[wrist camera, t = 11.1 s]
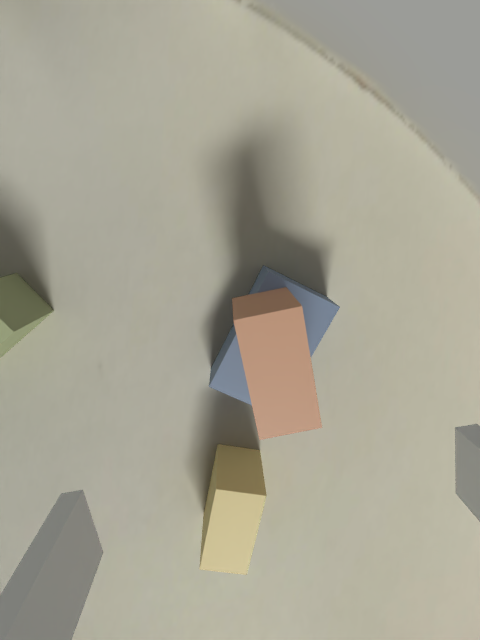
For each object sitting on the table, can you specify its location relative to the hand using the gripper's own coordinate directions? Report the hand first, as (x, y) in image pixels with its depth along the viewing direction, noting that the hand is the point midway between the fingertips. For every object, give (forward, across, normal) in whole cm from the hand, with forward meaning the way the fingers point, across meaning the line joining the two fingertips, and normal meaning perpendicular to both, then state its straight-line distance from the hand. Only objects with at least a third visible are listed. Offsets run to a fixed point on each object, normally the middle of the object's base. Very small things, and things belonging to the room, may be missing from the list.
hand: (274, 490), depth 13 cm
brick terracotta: (+15, +2, 0) cm, 15 cm away
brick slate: (+19, +2, 0) cm, 19 cm away
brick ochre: (+19, -4, -15) cm, 25 cm away
